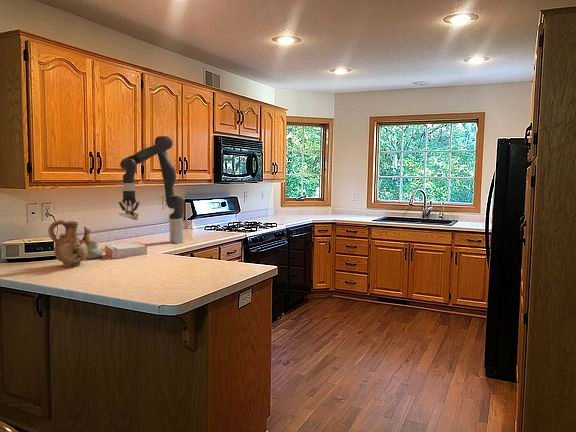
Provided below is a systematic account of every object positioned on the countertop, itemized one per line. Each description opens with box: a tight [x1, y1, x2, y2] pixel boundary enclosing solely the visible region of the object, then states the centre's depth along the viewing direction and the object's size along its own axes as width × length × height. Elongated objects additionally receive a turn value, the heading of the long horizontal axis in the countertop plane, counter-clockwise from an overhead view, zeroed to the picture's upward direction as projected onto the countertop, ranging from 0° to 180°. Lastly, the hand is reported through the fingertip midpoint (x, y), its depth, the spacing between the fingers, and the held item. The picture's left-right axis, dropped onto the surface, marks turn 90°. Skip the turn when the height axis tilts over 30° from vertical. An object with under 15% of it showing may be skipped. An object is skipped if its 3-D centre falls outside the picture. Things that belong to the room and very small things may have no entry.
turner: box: [118, 210, 139, 221], centre depth 302 cm, size 22×6×4 cm, turn 178°
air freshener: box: [85, 240, 104, 260], centre depth 273 cm, size 11×8×10 cm
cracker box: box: [104, 241, 148, 260], centre depth 283 cm, size 14×6×21 cm
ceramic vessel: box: [47, 219, 95, 268], centre depth 251 cm, size 18×19×25 cm
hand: (129, 217), depth 301 cm, fingers closed on turner, 2 cm apart
